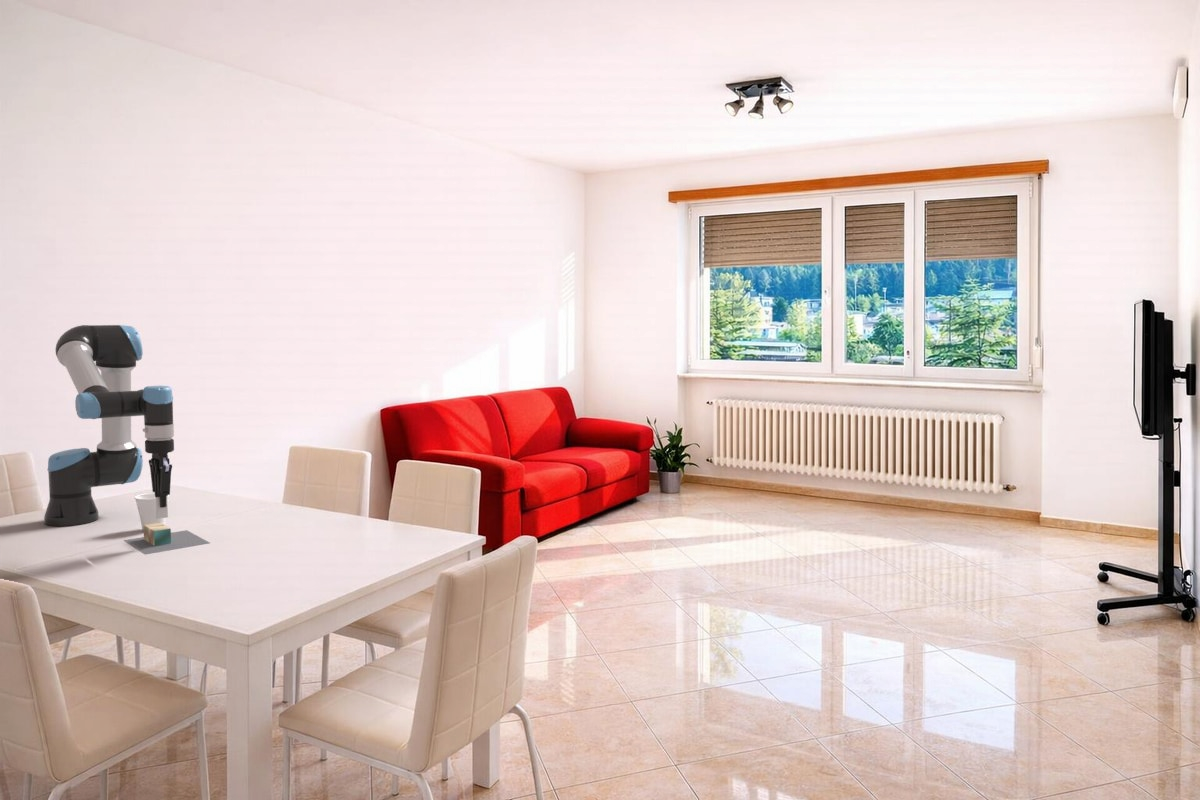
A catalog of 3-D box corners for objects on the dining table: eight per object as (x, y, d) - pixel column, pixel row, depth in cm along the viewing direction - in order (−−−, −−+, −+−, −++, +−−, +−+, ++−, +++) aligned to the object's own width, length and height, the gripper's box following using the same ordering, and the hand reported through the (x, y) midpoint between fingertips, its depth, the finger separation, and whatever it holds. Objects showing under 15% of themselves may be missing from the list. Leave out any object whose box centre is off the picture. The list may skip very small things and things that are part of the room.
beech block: (154, 546, 245) (143, 539, 252) (171, 543, 249) (159, 536, 256) (154, 531, 245) (143, 524, 252) (170, 528, 248) (159, 522, 255)
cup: (155, 534, 259) (154, 500, 258) (128, 532, 261) (126, 498, 260) (178, 526, 269) (176, 493, 268) (151, 524, 271) (150, 491, 270)
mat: (123, 541, 251) (123, 540, 251) (186, 531, 264) (186, 530, 264) (145, 555, 237) (145, 554, 237) (210, 544, 250) (210, 543, 250)
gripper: (138, 437, 246) (141, 515, 248) (152, 442, 237) (155, 523, 239) (165, 434, 251) (168, 511, 253) (180, 440, 242) (183, 519, 244)
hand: (162, 517), depth 246 cm, fingers closed
